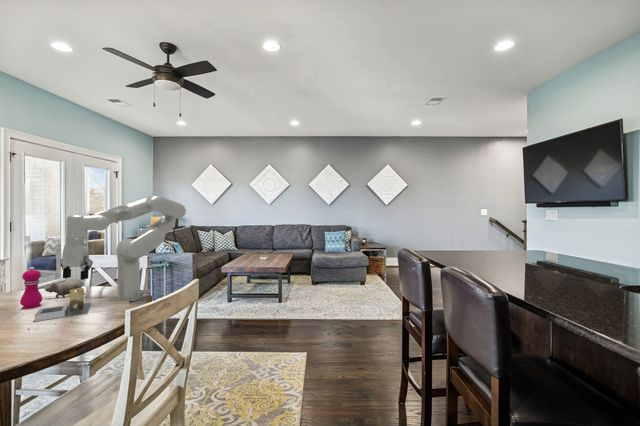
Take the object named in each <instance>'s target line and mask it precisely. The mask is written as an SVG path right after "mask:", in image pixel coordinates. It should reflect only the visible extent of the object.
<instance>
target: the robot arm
mask: <svg viewBox="0 0 640 426" xmlns="http://www.w3.org/2000/svg"><path fill="white" fill-rule="evenodd" d="M153 212H158V213H160V214H161V217H160V219H158V220H156V222H153V223H152V224H150V225H149V226H147V227H145V228H143V229H142V230H140V231H139V233H138V235H137V236H138V237H136V238H135V239H134V238H125V239H122V240H121V241H119V242H118V243H117V246H116V252H115V253H116V259H117V284H116V286H117V287H116V288H117V293H116V294H117V296H116V298H117V299H118V300H128V302H129V303H131V302H130V301H132V302H136V301H139V300H141V299H142V298H144V297H143V295H147V294H150V289H141V287H140V275H141V274H140V270H141V269H140V267H141V265H140V258H143V257H144V256H145V255H146V256H147V254H149V253H150V252H152V251H153V250H154V249H157V248H158V247H159V246H161V244H162V243H163V242H164V241H165V238H166V234H168V233H169V232H170V231H172V230H173V229H174V227H175V224H176V219H181V218H183V217H185V215H186V212H187V209H186V207H185V205H183V204H182V203H180V202H177V201H174V200H171V199H169V198H166V197H163V196H161V195H148V196H144V197H143V198H140V199H136V200H133V201H130V202H127V203H124V204H120V205H118V206H115V207H112V208H108V209H106V210H102V211H98V212H96V213H94V214H93V213H92V214H90V215H84V214H70V215H68V216H67V217H66V224H65V225H66V226H65V227H66V228H65V244H64V245H63V250H62V256H61V258H59V264H60V266H61V270H62V279H68V278H69V279H70V278H71V277H72V268H79V269H80V278H79V280H81V281H83V280H88V279H89V271H90V269H91V268H92V265H93V264H94V261H93V260H92V259H91V258H90V253H89V244H88V231H89V230H90V231H104V230H106V229H107V228H109V226H110V224H111V225H112V224H113V223H119V222H123V221H130V220H133V219H134V220H135V219H137V218H139V217H142V216H144V215H147V214H150V213H153Z"/></svg>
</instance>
